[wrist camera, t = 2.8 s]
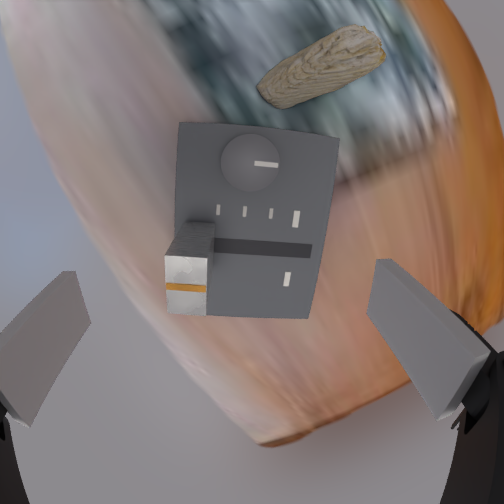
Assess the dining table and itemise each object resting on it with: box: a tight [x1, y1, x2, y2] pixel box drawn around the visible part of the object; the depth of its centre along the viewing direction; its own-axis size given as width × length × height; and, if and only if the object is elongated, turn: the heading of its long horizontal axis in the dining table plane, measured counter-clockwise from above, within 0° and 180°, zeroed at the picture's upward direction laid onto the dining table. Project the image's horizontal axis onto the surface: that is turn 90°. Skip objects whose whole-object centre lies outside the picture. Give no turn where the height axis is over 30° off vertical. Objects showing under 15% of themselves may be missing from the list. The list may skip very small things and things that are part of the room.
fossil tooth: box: [256, 24, 386, 109], centre depth 23 cm, size 12×6×15 cm
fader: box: [165, 222, 215, 316], centre depth 27 cm, size 4×6×10 cm, turn 175°
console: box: [175, 122, 340, 319], centre depth 32 cm, size 18×24×5 cm
